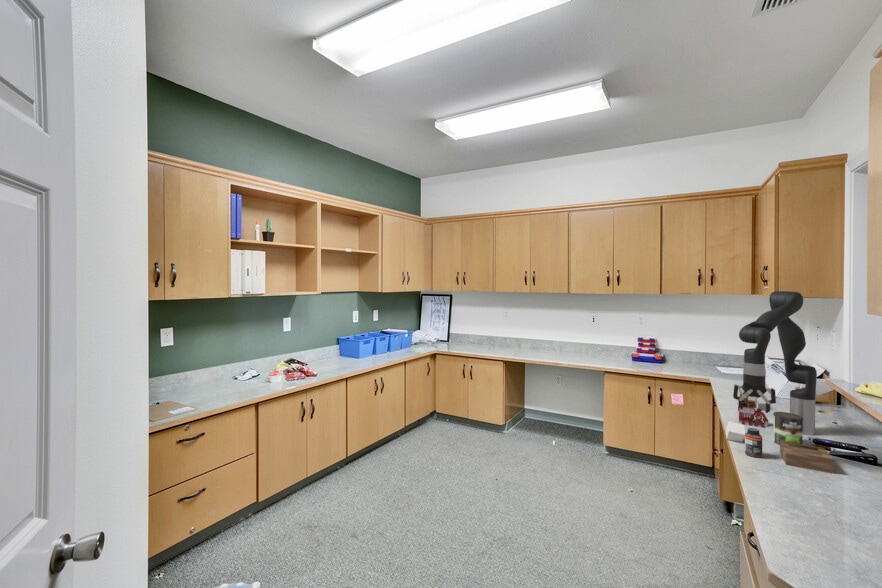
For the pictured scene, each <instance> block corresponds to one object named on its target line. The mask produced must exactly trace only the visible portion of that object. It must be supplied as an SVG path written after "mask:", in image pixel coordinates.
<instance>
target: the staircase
mask: <svg viewBox="0 0 882 588" xmlns="http://www.w3.org/2000/svg"><path fill="white" fill-rule="evenodd" d="M743 392H744V390H743V389H742V388H741V389H740V390H738V394H737V396H738V397H740V396H741V395H742V393H743ZM742 401H743V405H746V407H750V408H754V409H755V410H756V409H757V408H759V398H757V397H750V396H747V397H746V398H744V399H743V400H742ZM736 405H737V408H738V407H739V406H738V400H737V399H736Z"/></svg>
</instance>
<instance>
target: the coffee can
mask: <svg viewBox="0 0 882 588" xmlns="http://www.w3.org/2000/svg"><path fill="white" fill-rule="evenodd" d="M772 415H773V430H772V431H773V437H772V439H773V443H775V444H776V445H778V446H780V441H785V442H791V443H797V444H804V443H803V441H804V440H803V437H804V435H803V417H802V416H799V415H796V414H792V413H790V412H785V411H774V412H773V414H772Z"/></svg>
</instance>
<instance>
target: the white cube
mask: <svg viewBox="0 0 882 588" xmlns="http://www.w3.org/2000/svg"><path fill="white" fill-rule="evenodd" d="M745 433H746V430H745V425H743V424H742V423H738V422H733V421H728V422H727V425H726V429H725V436H726V438H725V439H726V440H729V441H733V442H738V443H743V441H744V440H745Z"/></svg>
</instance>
